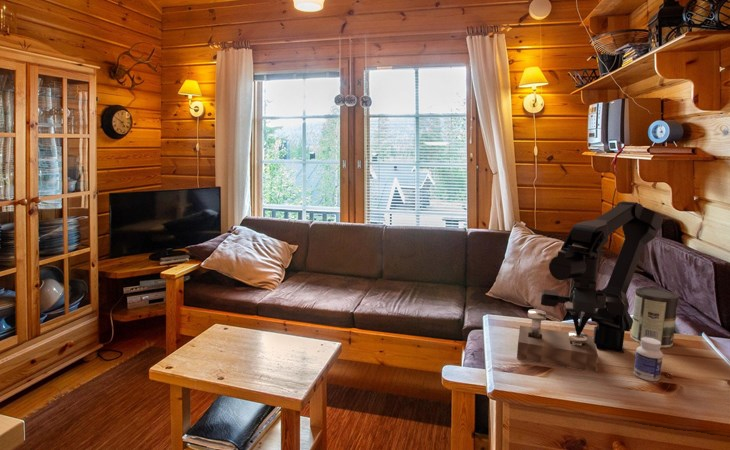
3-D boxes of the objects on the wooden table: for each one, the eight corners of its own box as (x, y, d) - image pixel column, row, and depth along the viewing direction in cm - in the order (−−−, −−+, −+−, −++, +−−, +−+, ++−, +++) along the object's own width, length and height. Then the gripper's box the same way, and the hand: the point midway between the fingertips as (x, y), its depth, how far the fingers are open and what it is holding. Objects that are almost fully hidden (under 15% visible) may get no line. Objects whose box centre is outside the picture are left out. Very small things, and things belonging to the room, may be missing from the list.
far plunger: (544, 333, 115) (546, 310, 114) (544, 339, 111) (546, 316, 110) (526, 330, 116) (528, 308, 115) (526, 336, 112) (527, 313, 111)
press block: (590, 352, 115) (592, 336, 114) (596, 372, 104) (597, 354, 103) (518, 340, 121) (520, 325, 120) (516, 358, 110) (518, 341, 109)
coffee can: (662, 334, 127) (668, 288, 125) (680, 349, 117) (687, 299, 115) (624, 331, 129) (629, 286, 127) (638, 345, 119) (644, 296, 117)
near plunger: (584, 355, 112) (586, 332, 111) (586, 362, 108) (588, 339, 107) (565, 352, 113) (568, 329, 112) (566, 359, 109) (569, 336, 108)
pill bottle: (660, 384, 99) (665, 347, 97) (633, 377, 101) (637, 342, 100) (659, 374, 103) (663, 339, 102) (633, 368, 106) (637, 334, 105)
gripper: (543, 278, 103) (538, 340, 106) (633, 288, 96) (626, 354, 99) (543, 267, 113) (538, 324, 116) (624, 276, 107) (618, 335, 109)
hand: (578, 334), depth 110 cm, fingers closed, pressing on near plunger
